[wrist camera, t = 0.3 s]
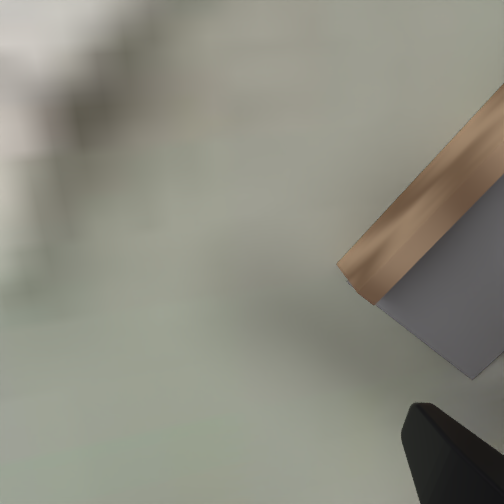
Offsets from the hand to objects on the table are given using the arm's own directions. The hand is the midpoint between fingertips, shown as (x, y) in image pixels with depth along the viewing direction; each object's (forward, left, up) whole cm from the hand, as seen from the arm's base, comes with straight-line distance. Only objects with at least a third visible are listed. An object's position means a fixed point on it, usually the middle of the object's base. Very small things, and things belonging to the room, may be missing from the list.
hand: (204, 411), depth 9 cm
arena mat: (-2, -17, -15) cm, 22 cm away
